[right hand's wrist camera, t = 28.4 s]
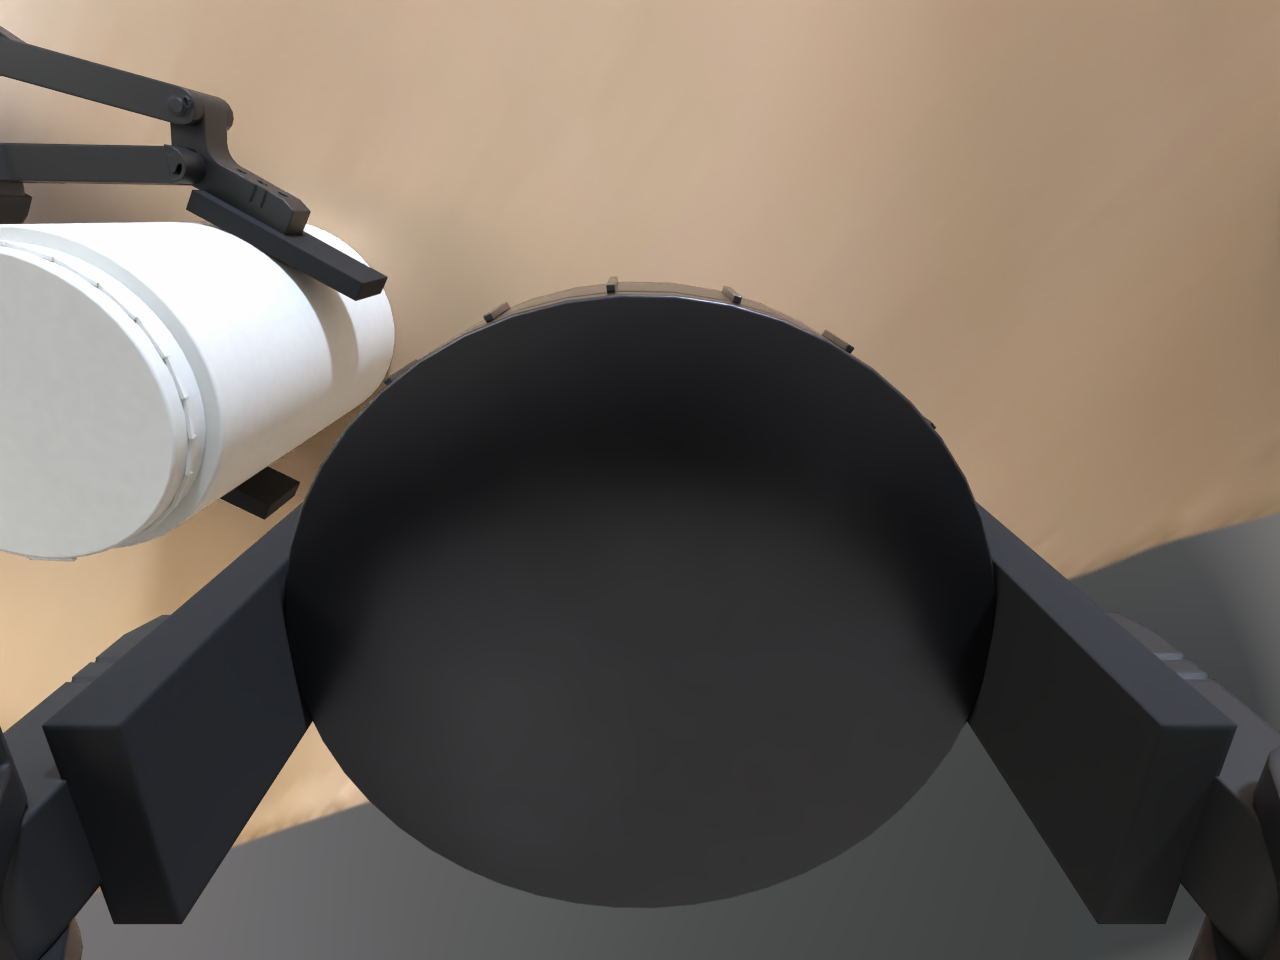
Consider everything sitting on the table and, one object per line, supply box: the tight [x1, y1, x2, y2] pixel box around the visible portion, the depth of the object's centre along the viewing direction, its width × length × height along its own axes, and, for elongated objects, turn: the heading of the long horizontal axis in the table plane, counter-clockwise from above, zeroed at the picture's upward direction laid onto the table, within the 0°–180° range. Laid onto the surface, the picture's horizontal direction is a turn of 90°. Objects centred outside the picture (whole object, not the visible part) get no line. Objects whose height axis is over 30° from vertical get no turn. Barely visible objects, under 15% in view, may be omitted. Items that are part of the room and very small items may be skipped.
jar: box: [0, 221, 395, 561], centre depth 27 cm, size 10×10×17 cm
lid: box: [285, 277, 995, 908], centre depth 11 cm, size 10×10×2 cm
